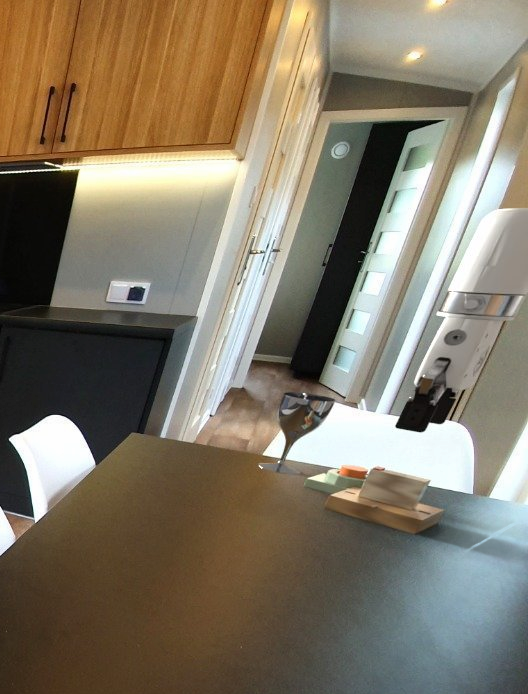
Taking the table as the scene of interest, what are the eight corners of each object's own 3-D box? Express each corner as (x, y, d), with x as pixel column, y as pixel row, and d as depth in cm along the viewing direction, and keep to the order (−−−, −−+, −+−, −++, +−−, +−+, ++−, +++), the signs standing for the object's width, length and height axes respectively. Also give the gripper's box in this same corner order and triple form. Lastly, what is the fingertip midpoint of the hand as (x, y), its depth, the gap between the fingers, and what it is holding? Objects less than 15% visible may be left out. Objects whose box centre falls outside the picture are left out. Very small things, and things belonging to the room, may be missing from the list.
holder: (416, 508, 106) (431, 478, 103) (410, 510, 105) (426, 480, 102) (362, 494, 111) (376, 465, 109) (357, 496, 110) (371, 467, 108)
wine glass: (300, 467, 132) (331, 396, 126) (306, 477, 126) (339, 403, 120) (253, 460, 136) (281, 390, 130) (257, 469, 130) (286, 397, 124)
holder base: (438, 522, 107) (446, 508, 106) (413, 535, 102) (421, 519, 101) (349, 498, 116) (355, 485, 115) (321, 508, 111) (328, 494, 110)
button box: (385, 498, 117) (394, 480, 115) (369, 504, 114) (379, 486, 112) (319, 481, 125) (327, 464, 123) (303, 486, 122) (310, 469, 120)
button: (367, 478, 117) (371, 469, 117) (359, 481, 116) (363, 472, 115) (343, 472, 120) (347, 463, 119) (334, 475, 118) (338, 466, 118)
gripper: (503, 311, 82) (436, 440, 89) (531, 307, 90) (469, 425, 97) (423, 306, 87) (367, 427, 95) (457, 303, 96) (403, 414, 103)
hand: (419, 426), depth 96 cm, fingers open, 9 cm apart
